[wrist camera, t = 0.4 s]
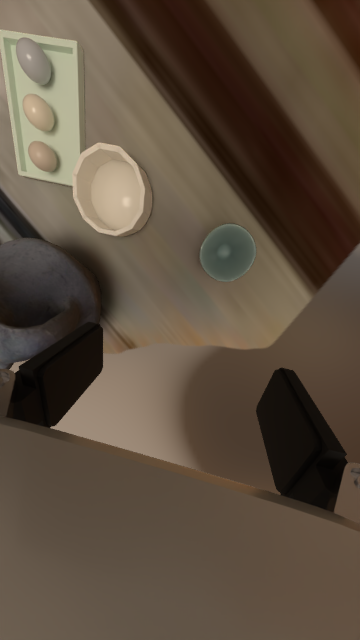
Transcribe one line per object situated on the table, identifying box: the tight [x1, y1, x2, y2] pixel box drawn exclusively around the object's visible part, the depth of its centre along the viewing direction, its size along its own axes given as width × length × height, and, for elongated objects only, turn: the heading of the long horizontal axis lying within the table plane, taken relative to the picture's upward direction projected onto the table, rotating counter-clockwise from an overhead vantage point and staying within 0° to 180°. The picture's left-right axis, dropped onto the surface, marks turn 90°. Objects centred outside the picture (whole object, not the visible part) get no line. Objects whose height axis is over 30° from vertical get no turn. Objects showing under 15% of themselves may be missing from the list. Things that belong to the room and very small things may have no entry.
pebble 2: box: [22, 94, 54, 132], centre depth 29 cm, size 4×4×4 cm
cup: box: [199, 223, 256, 282], centre depth 30 cm, size 8×8×10 cm
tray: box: [0, 30, 85, 187], centre depth 31 cm, size 17×12×2 cm
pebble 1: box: [16, 37, 51, 85], centre depth 27 cm, size 4×4×4 cm
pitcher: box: [0, 238, 101, 370], centre depth 31 cm, size 21×22×25 cm
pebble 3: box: [28, 141, 57, 172], centre depth 31 cm, size 4×4×4 cm
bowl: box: [72, 143, 152, 236], centre depth 32 cm, size 12×12×4 cm
